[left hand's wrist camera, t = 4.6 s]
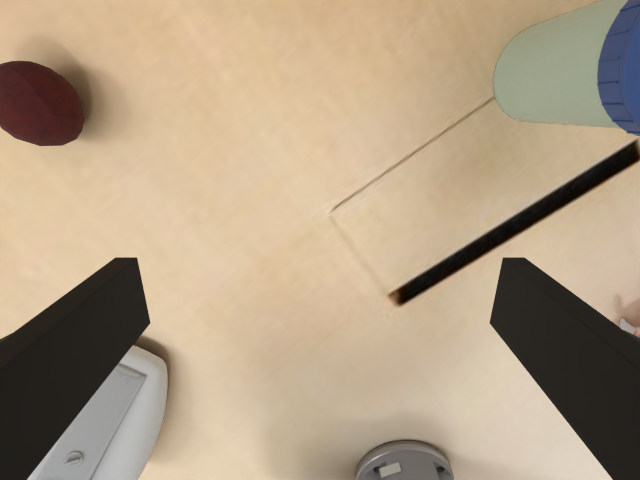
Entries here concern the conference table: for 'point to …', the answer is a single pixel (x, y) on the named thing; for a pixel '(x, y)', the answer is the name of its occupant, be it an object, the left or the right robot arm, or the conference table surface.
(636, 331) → the fish
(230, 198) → the conference table surface
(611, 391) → the left robot arm
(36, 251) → the conference table surface
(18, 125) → the potato
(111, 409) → the projector
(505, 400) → the conference table surface
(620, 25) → the lid
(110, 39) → the conference table surface
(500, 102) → the jar
